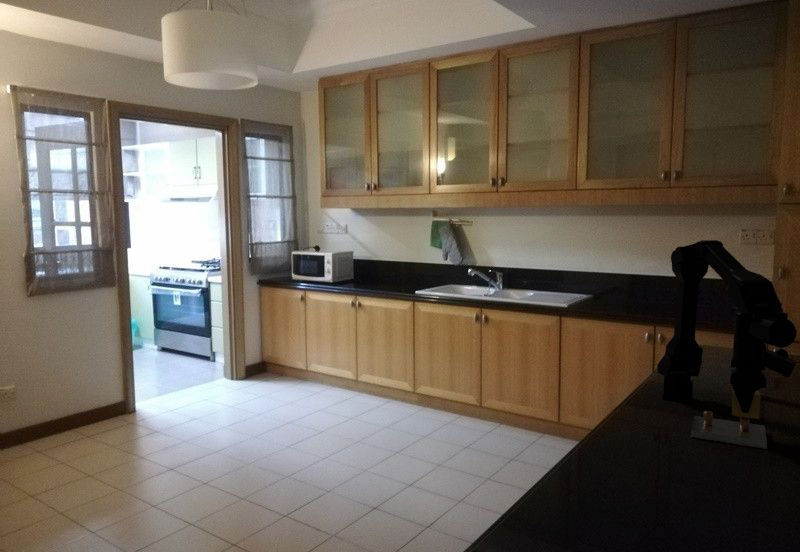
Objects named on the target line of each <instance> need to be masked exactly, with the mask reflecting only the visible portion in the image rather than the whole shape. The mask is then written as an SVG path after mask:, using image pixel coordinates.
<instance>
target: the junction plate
mask: <svg viewBox="0 0 800 552" xmlns="http://www.w3.org/2000/svg"><path fill="white" fill-rule="evenodd" d="M713 416H714V412H713V411H712V410H704V411H703V416H698V415H694V416H693V419H692V424H691V429H690V438H692V437H695V438H694V439H698V438H699V439H700V440H704V439H705V441H711V440H713V442H717V441H720V443H724V442H725V444H730V443H732V444H731V445H738V446H745V447H750V448H758V449H764V450H767V449H768V440H767V433H766V426H765V425H763V424H762V425H761V424H756V423H755V424H754V423H750V420H751V418H748V417H740V416H739V421H735V420H727V419H720V418H719V419H718V418H714V417H713Z"/></svg>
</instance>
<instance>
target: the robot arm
mask: <svg viewBox="0 0 800 552" xmlns="http://www.w3.org/2000/svg"><path fill="white" fill-rule="evenodd" d="M670 262H671V271H672V272H673V274H674V276H675V277H676V280H677V289H676V291H677V292H676V304H675V316H674V317H675V318H674V326H673V328H674V329H673V336H672V338H671V339H670V340H669V341H668V343H667V344H666V346H665V352H664V355H663V356H662V358H661V359H660V360H659V361H658V363H657V364H656V365H657V366H656V367H657V373H658V374H660V375H661V376H663V394H662V397H661V399H663V400H668V401H677V402H684V403H690V402H691V400H692V399H693V396H694V383H695V382H694V380H692V377H699V375H700V374H699V373H700V371H701V368H702V364H703V352H704V349H703V348H702V346H699V343H698V341H697V340H696V331H697V328H696V327H697V319H698V318H697V316H698V308H699V307H698V306H699V292H700V283H701V282H702V280H703V279H704V277H706V275H707V273H708V272H709V271H708V270H709V267H710V268H711V269H712V270H713V271H714V272H715V274H717V275H718V277H720V278H721V279H722V281H723V282H724V283H725V284H726V285H727V287H726V293H727V295H728V296H729V298H730V300H731V301H732V303H734V306H732V307H731V308H730V310H729V313H731V314H734V327H733V342H732V343H733V345H732V347H733V348H732V356H731V358H730V368H731V369H730V379H729V381H730V382H729V383H730V385H731V387H732V390H733V389H734V392H735V394H736V397H737V399H738V402H739V405H740V407H741V410H742V412H743V413H748V412H749V409H750V406H751V403H752V400H753V397H754V394H755V392H756V391H757V390H760V389H766V388H767V376H766V374H765V373H764V372H763V371H766V369H768V370H771V371H773V372H775V373H778V374H780V375H781V376H783V377H786V378H790V377H791V375H792V373H793V372H794V370H795V368H796V365H797V363H796V361H795V359H793V358H792V357H789V352H788V350H786V349H784V348H787V347H789V346H791V345H792V344H793V343H794V342H795V340H796V338H797V335H798V334H797V331H798V330H797V328H796V326H795V324H794V322H793V321H791V320H789V319H788V312H785V311H784V310H783V308H782V307H783V304H782V303H781V301H780V299H779V297H778V294H777V293H776V290H775V288H774V285H773V283H772V282H771V280H769V279H768V278H766V277H765V276H763V275H762V274H759V273H756V272H754V271H751V270H748V269H747V268H746V267H745V266H744V265H743V264H742V263H740V261H738V260H737V258H735V257H734V255H732V253H730V252H729V251H728V250H727V249H726V247H724V244H723V242H722V241H720V240H718V239H717V240H715V239H709V240H707V239H705V240H703V239H701V240H700V241H697V242H694V243H692V244H687V245H684V246H677V247H676V248H675V249H674V250H673V251H672V252H671V254H670ZM767 345H770V346H772V347H775V348H778V349H776V350H775V351H774V350H771V349H770V350H769V349H768V348H767Z"/></svg>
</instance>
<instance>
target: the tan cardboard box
mask: <svg viewBox="0 0 800 552" xmlns="http://www.w3.org/2000/svg"><path fill="white" fill-rule="evenodd" d="M760 410H761V390H760V389H759V390H757V391H756V392H755V394H754V397H753V400H752V403H751V406H750V409H749V412H748V413H743V412H742V410H741V407H740V405H739V402H738V399H737V397H736V394H735V392H734V389H733V388H732V405H731V415H732V416H733V417H735V416H736V417H739V418H740V417H748V418H750V419H757V420H760V413H761V412H760Z"/></svg>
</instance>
